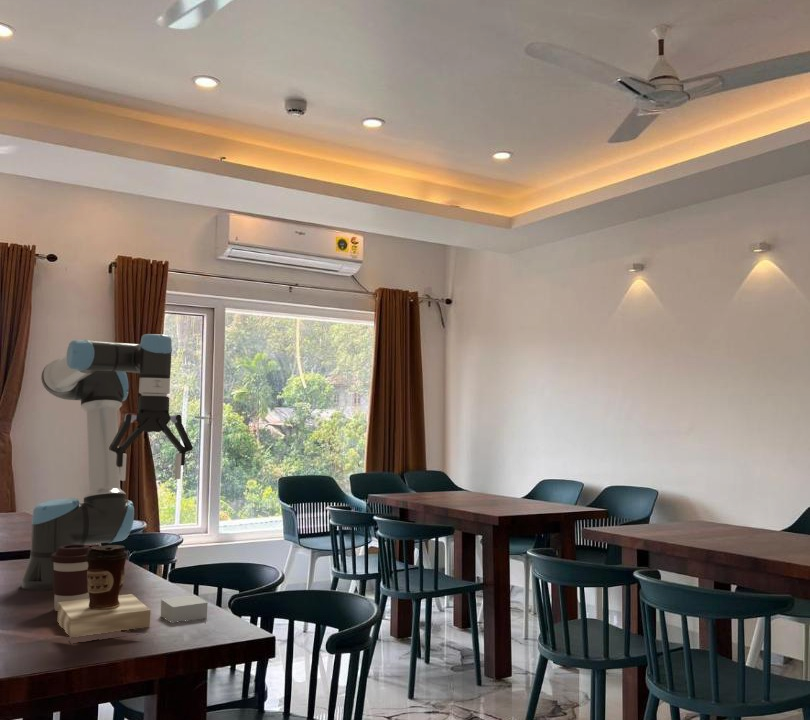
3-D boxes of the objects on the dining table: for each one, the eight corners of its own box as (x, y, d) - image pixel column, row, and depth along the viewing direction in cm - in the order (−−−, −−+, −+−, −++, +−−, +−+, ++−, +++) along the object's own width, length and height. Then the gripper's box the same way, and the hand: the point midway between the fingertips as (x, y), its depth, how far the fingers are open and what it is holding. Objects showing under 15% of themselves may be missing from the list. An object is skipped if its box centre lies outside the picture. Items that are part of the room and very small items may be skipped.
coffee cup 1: (102, 606, 186) (105, 544, 187) (72, 617, 177) (75, 551, 178) (69, 602, 190) (72, 541, 191) (38, 612, 180) (41, 548, 181)
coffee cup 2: (109, 613, 163) (112, 551, 164) (74, 610, 165) (77, 549, 165) (132, 603, 171) (134, 544, 172) (98, 600, 173) (101, 542, 174)
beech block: (56, 624, 171) (58, 602, 171) (130, 615, 179) (131, 594, 180) (70, 644, 157) (71, 619, 158) (149, 633, 166) (150, 609, 166)
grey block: (160, 621, 176) (161, 599, 176) (194, 616, 181) (195, 595, 181) (171, 630, 169) (172, 607, 170) (206, 624, 174) (207, 602, 174)
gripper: (105, 393, 184) (101, 482, 183) (207, 396, 198) (203, 479, 196) (99, 393, 190) (95, 479, 189) (197, 396, 204) (194, 476, 203)
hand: (150, 479), depth 193 cm, fingers open, 13 cm apart
